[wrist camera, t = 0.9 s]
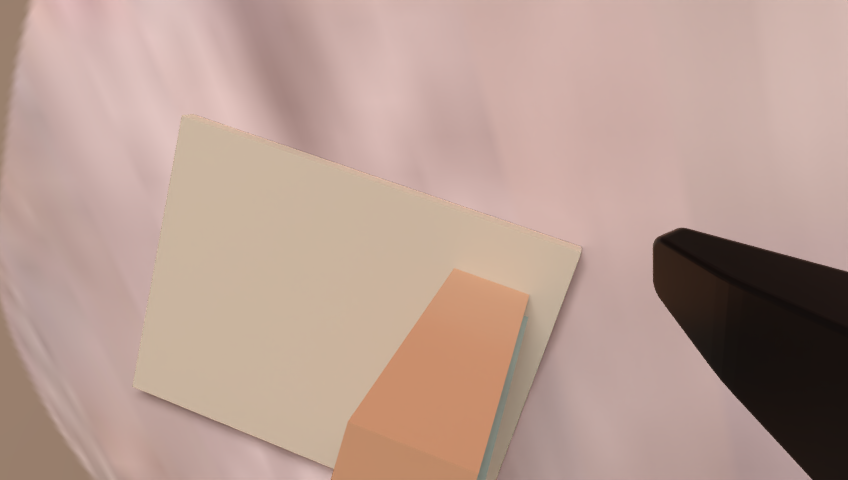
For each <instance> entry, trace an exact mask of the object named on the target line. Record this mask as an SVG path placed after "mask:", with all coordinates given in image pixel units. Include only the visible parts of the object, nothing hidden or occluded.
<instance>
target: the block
mask: <svg viewBox="0 0 848 480" xmlns="http://www.w3.org/2000/svg"><path fill="white" fill-rule="evenodd" d="M528 298H529V294H526V293H523V292H520V291H518V290H515V289H512V288H509V287H506V286H504V285H501V284H498V283H495V282H492V281H490V280H487V279H484V278H481V277H478V276H475V275H473V274H470V273H467V272H464V271H461V270H459V269H456V268H454V269H453V270H452V272H451V273H450V275H449V276H448V277H447V279H446V280H445V282H444V283H443V285H442V286H441V288H440V289H439V290H438V292H437V293H436V295H435V296H434V298H433V299H432V301H431V302H430V303H429V305H428V306H427V308H426V309H425V311H424V312H423V314H422V315H421V316H420V318H419V319H418V321H417V322H416V324H415V325H414V327H413V328H412V329H411V331H410V332H409V334H408V335H407V337H406V338H405V340H404V341H403V342H402V344H401V345H400V347H399V348H398V350H397V351H396V353H395V354H394V355H393V357H392V358H391V360H390V361H389V363H388V364H387V366H386V367H385V368H384V370H383V371H382V373H381V374H380V376H379V377H378V379H377V380H376V382H375V383H374V384H373V386H372V387H371V389H370V390H369V392H368V393H367V395H366V396H365V397H364V399H363V400H362V402H361V403H360V405H359V406H358V408H357V409H356V410H355V412H354V413H353V415H352V416H351V418H350V419H349V421H348V423H347V426H346V429H345V433H344V436H343V440H342V443H341V446H340V450H339V453H338V457H337V460H336V464H335V467H334V470H333V474H332V477H331V480H486V476H487V472H488V468H489V465H490V461H491V457H492V453H493V450H494V446H495V442H496V438H497V434H498V431H499V427H500V423H501V419H502V415H503V412H504V408H505V404H506V400H507V396H508V393H509V389H510V385H511V381H512V377H513V374H514V370H515V366H516V362H517V359H518V355H519V351H520V347H521V343H522V340H523V336H524V332H525V328H526V324H527V321H528V317H527V316H524V312H525V309H526V305H527V302H528Z"/></svg>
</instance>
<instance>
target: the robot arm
mask: <svg viewBox="0 0 848 480" xmlns="http://www.w3.org/2000/svg"><path fill="white" fill-rule="evenodd" d="M653 283H654V287H655V290H656V293H657V294H658V296H659V298H660V299H661V301H662V302H663V303H664V305H665V306H666V307H667V309H668V310H669V311H670V313H671V314H672V316H673V317H674V318H675V320H676V321H677V322H678V324H679V325H680V326H681V328H682V329H683V330H684V332H685V333H686V334H687V336H688V337H689V338H690V340H691V341H692V343H693V344H694V345H695V347H696V348H697V349H698V351H699V352H700V353H701V355H702V356H703V357H704V359H705V360H706V361H707V363H708V364H709V365H710V367H711V368H712V369H713V371H714V372H715V373H716V374H717V376H718V377H719V378H720V379H721V381H722V382H723V383H724V384H725V385H726V386H727V387H728V389H729V390H730V391H731V392H732V393H733V394H734V395H735V396H736V398H737V399H738V400H739V401H740V402H741V403H742V404H743V405H744V406H745V407H746V408H747V409H748V410H749V412H750V413H751V414H752V415H753V416H754V417H755V418H756V419H757V420H758V421H759V422H760V423H761V425H762V426H763V427H764V428H765V429H766V430H767V431H768V432H769V433H770V434H771V435H772V436H773V438H774V439H775V440H776V441H777V442H778V443H779V444H780V445H781V446H782V447H783V448H784V449H785V450H786V452H787V453H788V454H789V455H790V456H791V457H792V458H793V459H794V460H795V461H796V462H797V463H798V465H799V466H800V467H801V468H802V469H803V470H804V471H805V472H806V473H807V474H808V475H809V476H810V478H811V479H812V480H848V272H847V271H843V270H839V269H836V268H832V267H828V266H825V265H821V264H817V263H813V262H810V261H806V260H802V259H799V258H795V257H791V256H787V255H784V254H780V253H776V252H773V251H769V250H765V249H762V248H758V247H754V246H750V245H747V244H743V243H739V242H736V241H732V240H728V239H724V238H721V237H717V236H713V235H710V234H706V233H702V232H699V231H695V230H691V229H687V228H678V229H675V230H673V231H670V232H668V233H666V234H663V235H661V236H659V237H657V238H656V239H655V241H654V243H653Z"/></svg>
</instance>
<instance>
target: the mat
mask: <svg viewBox="0 0 848 480" xmlns="http://www.w3.org/2000/svg"><path fill="white" fill-rule="evenodd" d="M581 250H582V247H581V246H578V245H575V244H572V243H569V242H566V241H563V240H560V239H557V238H554V237H551V236H548V235H545V234H543V233H540V232H537V231H534V230H531V229H528V228H525V227H522V226H519V225H516V224H513V223H510V222H507V221H504V220H502V219H499V218H496V217H493V216H490V215H487V214H484V213H481V212H478V211H475V210H472V209H469V208H466V207H463V206H461V205H458V204H455V203H452V202H449V201H446V200H443V199H440V198H437V197H434V196H431V195H428V194H425V193H422V192H420V191H417V190H414V189H411V188H408V187H405V186H402V185H399V184H396V183H393V182H390V181H387V180H384V179H381V178H379V177H376V176H373V175H370V174H367V173H364V172H361V171H358V170H355V169H352V168H349V167H346V166H343V165H340V164H338V163H335V162H332V161H329V160H326V159H323V158H320V157H317V156H314V155H311V154H308V153H305V152H302V151H299V150H297V149H294V148H291V147H288V146H285V145H282V144H279V143H276V142H273V141H270V140H267V139H264V138H261V137H258V136H256V135H253V134H250V133H247V132H244V131H241V130H238V129H235V128H232V127H229V126H226V125H223V124H220V123H217V122H215V121H212V120H209V119H206V118H203V117H200V116H197V115H194V114H190V115H182V118H181V123H180V129H179V134H178V140H177V145H176V150H175V156H174V161H173V167H172V172H171V178H170V183H169V189H168V194H167V200H166V205H165V211H164V216H163V222H162V227H161V233H160V238H159V243H158V249H157V254H156V260H155V265H154V271H153V276H152V282H151V287H150V293H149V298H148V304H147V309H146V315H145V320H144V326H143V331H142V337H141V342H140V347H139V353H138V358H137V364H136V369H135V375H134V380H133V386H132V387H135V388H137V389H139V390H142V391H144V392H147V393H149V394H152V395H154V396H157V397H159V398H161V399H164V400H166V401H169V402H171V403H174V404H176V405H179V406H181V407H183V408H186V409H188V410H191V411H193V412H196V413H198V414H201V415H203V416H205V417H208V418H210V419H213V420H215V421H218V422H220V423H222V424H225V425H227V426H230V427H232V428H235V429H237V430H240V431H242V432H244V433H247V434H249V435H252V436H254V437H257V438H259V439H262V440H264V441H266V442H269V443H271V444H274V445H276V446H279V447H281V448H284V449H286V450H288V451H291V452H293V453H296V454H298V455H301V456H303V457H306V458H308V459H310V460H313V461H315V462H318V463H320V464H323V465H325V466H328V467H330V468H332V469H334V467H335V464H336V460H337V457H338V453H339V450H340V446H341V443H342V440H343V436H344V433H345V429H346V426H347V423H348V421H349V419H350V418H351V416H352V415H353V413H354V412H355V410H356V409H357V408H358V406H359V405H360V403H361V402H362V400H363V399H364V397H365V396H366V395H367V393H368V392H369V390H370V389H371V387H372V386H373V384H374V383H375V382H376V380H377V379H378V377H379V376H380V374H381V373H382V371H383V370H384V368H385V367H386V366H387V364H388V363H389V361H390V360H391V358H392V357H393V355H394V354H395V353H396V351H397V350H398V348H399V347H400V345H401V344H402V342H403V341H404V340H405V338H406V337H407V335H408V334H409V332H410V331H411V329H412V328H413V327H414V325H415V324H416V322H417V321H418V319H419V318H420V316H421V315H422V314H423V312H424V311H425V309H426V308H427V306H428V305H429V303H430V302H431V301H432V299H433V298H434V296H435V295H436V293H437V292H438V290H439V289H440V288H441V286H442V285H443V283H444V282H445V280H446V279H447V277H448V276H449V275H450V273H451V272H452V270H453V269H454V268H456V269H459V270H461V271H464V272H467V273H470V274H473V275H475V276H478V277H481V278H484V279H487V280H490V281H492V282H495V283H498V284H501V285H504V286H506V287H509V288H512V289H515V290H518V291H520V292H523V293H526V294H529V298H528V302H527V305H526V309H525V312H524V316H527V317H528V321H527V324H526V328H525V332H524V336H523V340H522V343H521V347H520V351H519V355H518V359H517V362H516V366H515V370H514V374H513V377H512V381H511V385H510V389H509V393H508V396H507V400H506V404H505V408H504V412H503V415H502V419H501V423H500V427H499V431H498V434H497V438H496V442H495V446H494V450H493V453H492V457H491V461H490V465H489V468H488V472H487V476H486V480H496V478H497V476H498V473H499V470H500V468H501V465H502V462H503V460H504V457H505V454H506V452H507V449H508V446H509V444H510V441H511V438H512V436H513V433H514V430H515V428H516V425H517V422H518V420H519V417H520V414H521V412H522V409H523V406H524V404H525V401H526V399H527V396H528V393H529V391H530V388H531V385H532V383H533V380H534V377H535V375H536V372H537V369H538V367H539V364H540V361H541V359H542V356H543V353H544V351H545V348H546V345H547V343H548V340H549V337H550V335H551V332H552V329H553V327H554V324H555V321H556V319H557V316H558V313H559V311H560V308H561V305H562V303H563V300H564V297H565V295H566V292H567V289H568V287H569V284H570V281H571V279H572V276H573V273H574V271H575V268H576V265H577V263H578V260H579V257H580V255H581Z"/></svg>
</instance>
